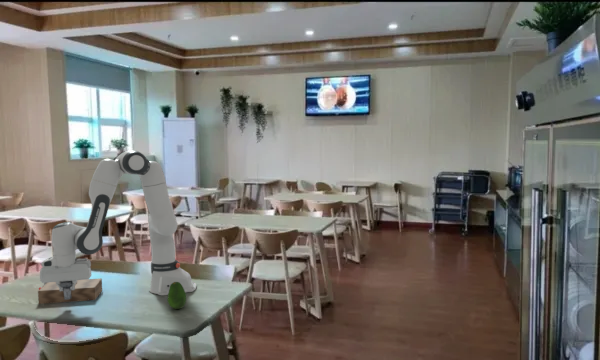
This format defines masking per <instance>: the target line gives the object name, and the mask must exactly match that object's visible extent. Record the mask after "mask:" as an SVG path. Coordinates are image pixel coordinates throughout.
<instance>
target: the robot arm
mask: <svg viewBox="0 0 600 360" xmlns="http://www.w3.org/2000/svg"><path fill="white" fill-rule="evenodd" d="M124 174H126V175H137V176H138V177H139V179H140V182H141V187H142V191H143V196H144V200H145V204H146V207H147V209H148V212H149V216H148V218H147V222H148V224H147V225H148V233H149V239H150V240H149V241H150V248H151V261H150V262H151V263H150V273H151V277H150V278H151V280H150V285H149V292H150V293H151V294H157V295H159V296H168V293H169V288H170V285H171V284H172V283H173V282H179V283H180V284H181V285H182V287H183V289H184V291H185V293H186V294H187V293H191V292H192V293H193V292H194V291H196V289H197V283H196V282H194V281H192V277H191V274H190V272H187V271H186V270H185V269H183V268H181V262H180V260H176V247H175V246H176V245H175V241H174V240H175V239H174V233H176V231H177V229H178V221H177V218H176V214H175V211H174V208H173V205H172V201H171V199H170V196H169V191H168V185H167V181H166V177H165V173H164V172H163V168H162V166H161V164H160V163H159V162H157V161H155V160H149V159H148V158H147V157H146V156H145V155H144V154H143V153H142V152H140V151H138V150H131V149H130V150H129V149H128V150H125V151H122V152H121V153H119V154H117V155H116V157H114V158H113V159H112V158H104V159H101V160H100V161H99V163H98V165H97V167H96V169H95V170H94V173H93V175H92V177H91V180H90V183H89V187H88V196H89V197H88V198H89V200H90V203H91V212H90V215H89V218H88V222H87V225H86V226H81V225H77V224H75V223H72V222H70V221H65V222H61V223H57V224H55V225H54V226H53V227H52V230H51V245H52V248H53V251H52V256H50V257H48V258H45V259H44V260H42V262H41V263H40V264H41V268H40V270H39V271H40V272H39V281H40V282H41V283H42V284H44V283H48V282H56V285H57V286H58V287H59V291H63V287H61V286H60V282H61V281H72V282H73V283H74V284H73V286H70V290H75V284H76V283H77V280H85V279H91V277H92V269H91V266H92V262H91V260H90V259H88V258H86V257H85V258H77V254H76V253H77V252H76V250H78V251H79V252H80V253H81V254H83V255H88V256H91V255H94V254H96V253H98V252H99V251H100V250H101V249H102V246H103V242H104V241H103V230H104V229H103V228H104V225H105V222H106V218H107V216H108V215H107V214H108V211H109V207H110V205H111V202H112V201H113V200H112V199H113V197H114V195H115V192H116V190H117V186H118V185H119V181H120V179H121V177H122V176H124Z"/></svg>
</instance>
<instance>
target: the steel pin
mask: <svg viewBox="0 0 600 360" xmlns="http://www.w3.org/2000/svg"><path fill="white" fill-rule="evenodd" d="M60 286H61V287H63V291H64V299H65V300H68V299H71V298H72V295H71V290H70V286H73V282H72V281H61V282H60Z"/></svg>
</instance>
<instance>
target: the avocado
mask: <svg viewBox="0 0 600 360" xmlns="http://www.w3.org/2000/svg"><path fill="white" fill-rule="evenodd" d="M186 301H187V292H186V293H185V291H184V289H183V287H182V285H181V284H180V283H179V282H173V283H172V284H171V285H170V288H169V293H168V295H167V303H168V305H169V306H170V307H171V309H173V310H174V309H175V310H179V309H182V308H183V307H184V306H185V305H186V303H187V302H186Z"/></svg>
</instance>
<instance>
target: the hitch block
mask: <svg viewBox="0 0 600 360" xmlns="http://www.w3.org/2000/svg"><path fill="white" fill-rule="evenodd" d="M73 284H74V283H73ZM102 291H103V279H102V278H89V279H85V280H77V283H76V284H75V290H71V295H72V298H71V299H68V300H65V299H64V291H59V287H58V286H57V285H56V282H48V283H46V284H45V285H44V284H43V285H42V287H41V289H40V290H39V289H38V290H37V297H38V305H43V304H57V303H71V302H72V303H73V302H85V301H87V302H88V301H89V302H90V301H96V299H97V298H98V297H99V296H100V294H101V293H102Z"/></svg>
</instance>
